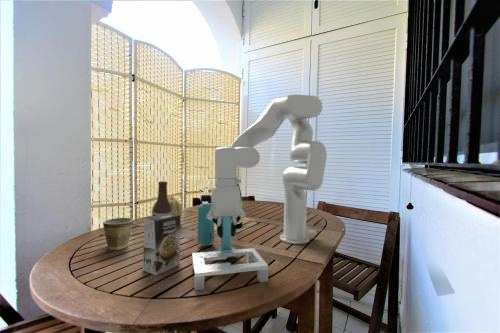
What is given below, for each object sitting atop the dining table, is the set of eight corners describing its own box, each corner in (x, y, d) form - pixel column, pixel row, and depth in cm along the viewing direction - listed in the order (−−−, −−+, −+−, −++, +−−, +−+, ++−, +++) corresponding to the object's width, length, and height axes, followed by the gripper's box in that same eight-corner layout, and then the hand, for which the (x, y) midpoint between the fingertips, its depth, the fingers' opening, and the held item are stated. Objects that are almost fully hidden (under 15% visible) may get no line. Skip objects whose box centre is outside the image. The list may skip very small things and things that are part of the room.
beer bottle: (148, 238, 103) (148, 181, 102) (161, 233, 110) (162, 180, 110) (162, 241, 100) (163, 182, 100) (175, 236, 107) (176, 181, 107)
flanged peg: (234, 249, 89) (233, 205, 88) (238, 256, 83) (238, 209, 82) (215, 251, 87) (215, 206, 87) (218, 258, 81) (217, 210, 80)
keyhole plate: (253, 261, 82) (253, 248, 82) (267, 281, 69) (268, 265, 69) (192, 267, 77) (192, 253, 76) (194, 290, 63) (195, 273, 63)
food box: (156, 276, 70) (156, 220, 70) (142, 270, 74) (143, 217, 73) (180, 265, 78) (181, 214, 78) (167, 260, 82) (167, 212, 81)
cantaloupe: (153, 222, 129) (153, 194, 129) (182, 221, 133) (182, 193, 132) (148, 230, 115) (149, 198, 114) (181, 229, 118) (181, 198, 118)
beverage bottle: (210, 250, 92) (211, 196, 91) (194, 248, 93) (195, 195, 93) (216, 244, 98) (217, 194, 98) (201, 242, 99) (201, 193, 99)
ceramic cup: (137, 246, 93) (137, 220, 93) (108, 253, 86) (108, 225, 86) (124, 239, 102) (124, 215, 102) (96, 244, 95) (96, 219, 95)
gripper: (246, 181, 90) (246, 230, 91) (200, 182, 85) (201, 234, 86) (252, 183, 83) (252, 237, 83) (202, 185, 78) (203, 242, 79)
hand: (226, 235), depth 85 cm, fingers closed on flanged peg, 3 cm apart
